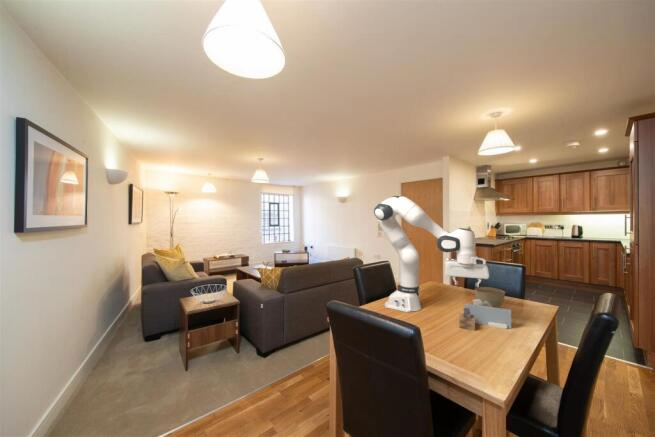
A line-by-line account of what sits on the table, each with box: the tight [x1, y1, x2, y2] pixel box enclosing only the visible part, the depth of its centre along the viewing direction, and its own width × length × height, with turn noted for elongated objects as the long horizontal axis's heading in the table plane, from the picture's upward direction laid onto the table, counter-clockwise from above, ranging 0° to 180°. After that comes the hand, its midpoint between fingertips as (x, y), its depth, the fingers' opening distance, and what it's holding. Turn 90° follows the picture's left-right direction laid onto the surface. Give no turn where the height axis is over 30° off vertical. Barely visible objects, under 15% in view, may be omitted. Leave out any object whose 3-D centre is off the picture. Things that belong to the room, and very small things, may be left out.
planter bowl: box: [474, 286, 506, 308], centre depth 161 cm, size 16×16×11 cm
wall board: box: [464, 303, 512, 329], centre depth 136 cm, size 21×4×9 cm, turn 62°
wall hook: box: [472, 298, 492, 307], centre depth 148 cm, size 8×10×10 cm
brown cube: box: [458, 307, 476, 332], centre depth 134 cm, size 7×7×9 cm
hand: (466, 285), depth 134 cm, fingers open, 8 cm apart
